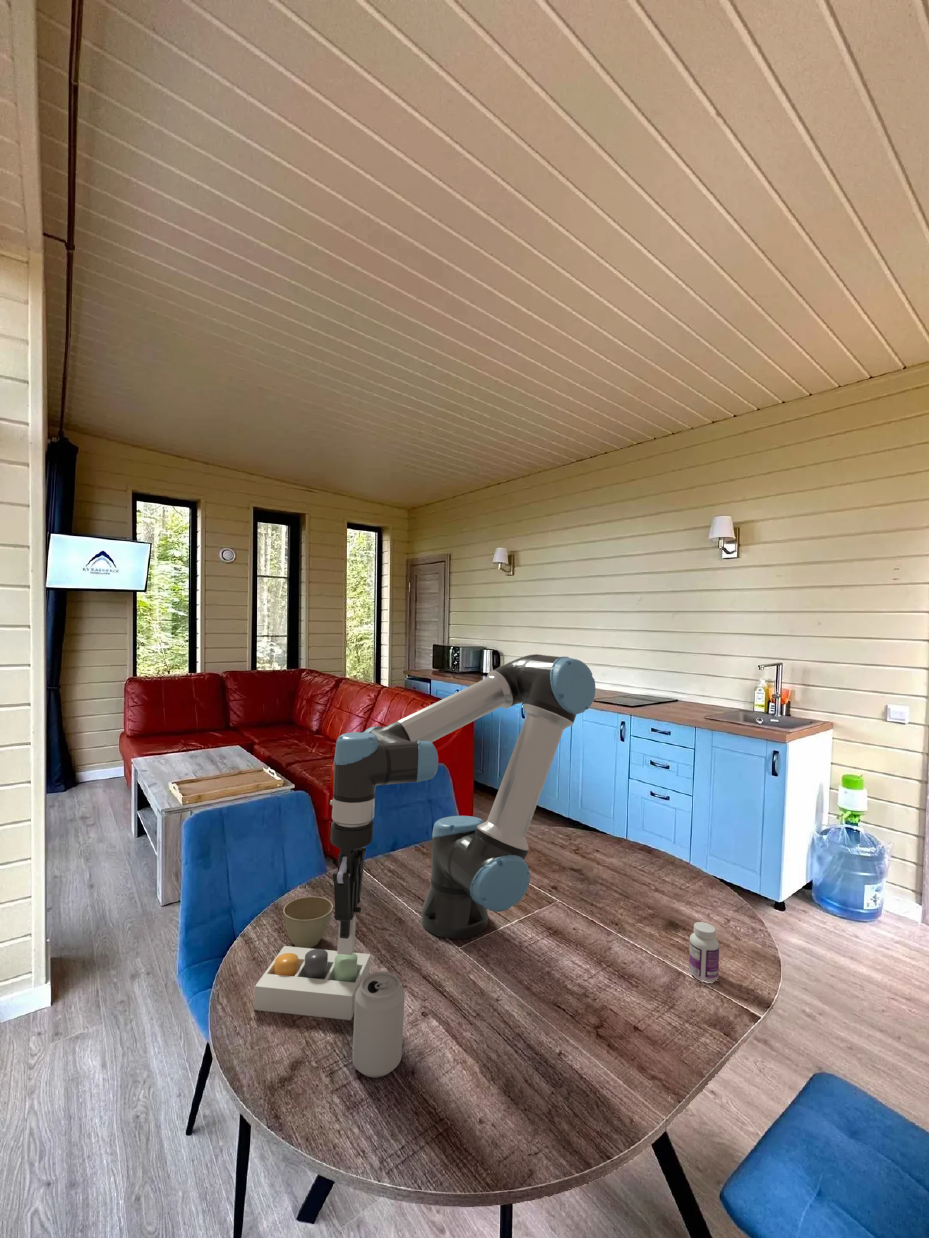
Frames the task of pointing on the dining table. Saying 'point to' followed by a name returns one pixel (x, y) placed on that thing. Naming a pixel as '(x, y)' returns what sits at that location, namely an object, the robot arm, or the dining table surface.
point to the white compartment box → (309, 989)
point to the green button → (345, 968)
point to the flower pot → (307, 920)
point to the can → (378, 1024)
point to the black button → (316, 964)
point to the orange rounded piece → (286, 964)
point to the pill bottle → (704, 952)
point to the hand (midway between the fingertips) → (345, 951)
